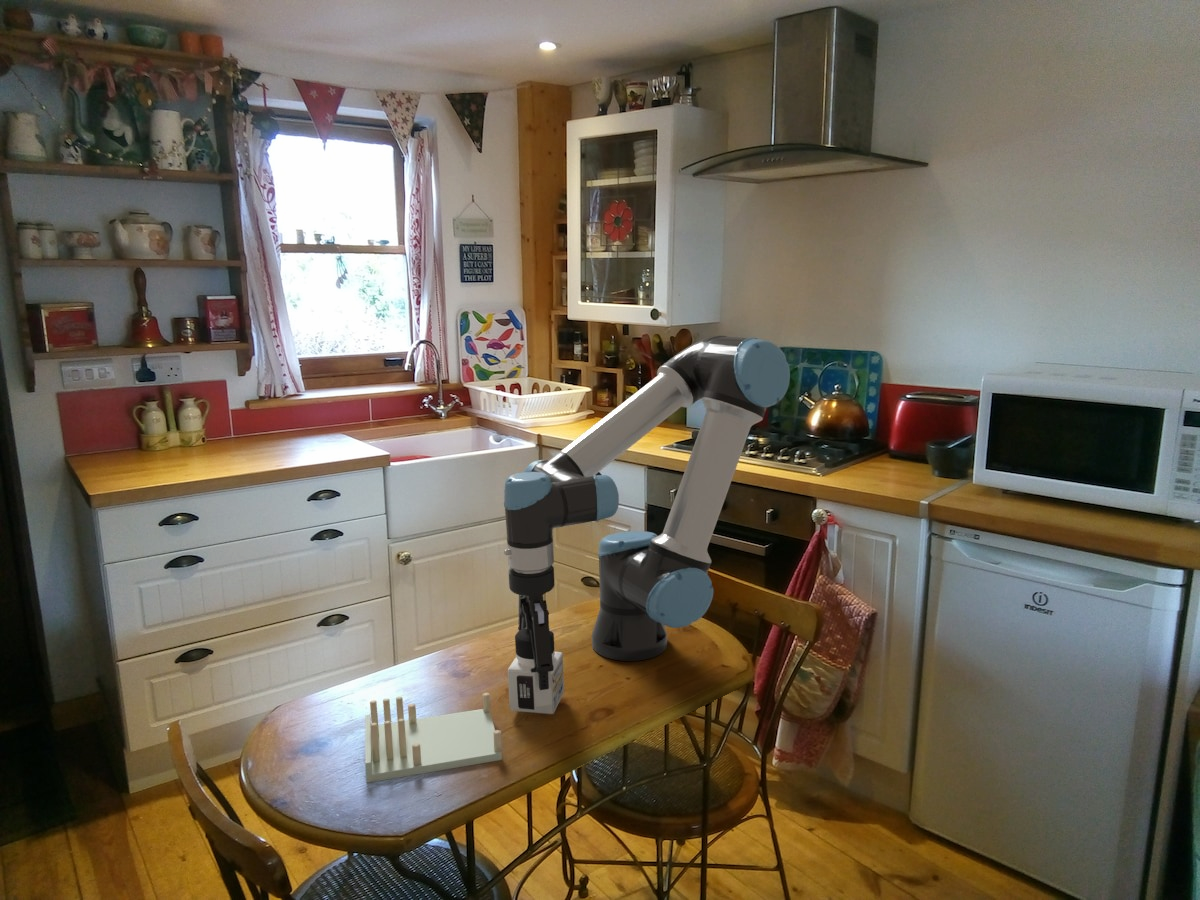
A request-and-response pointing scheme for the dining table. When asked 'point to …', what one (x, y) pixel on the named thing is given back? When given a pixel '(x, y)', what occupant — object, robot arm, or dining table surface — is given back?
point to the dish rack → (428, 741)
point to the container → (532, 676)
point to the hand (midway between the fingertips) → (536, 689)
